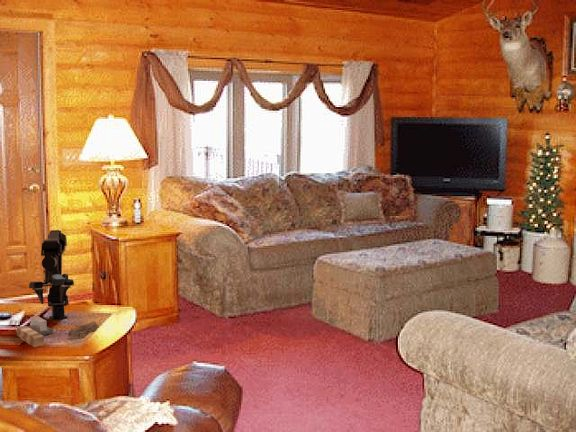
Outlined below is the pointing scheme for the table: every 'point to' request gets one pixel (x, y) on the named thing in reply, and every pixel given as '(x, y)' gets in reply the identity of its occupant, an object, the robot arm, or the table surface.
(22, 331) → the birch rod
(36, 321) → the balance ridge
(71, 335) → the wooden fragment
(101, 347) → the table surface
